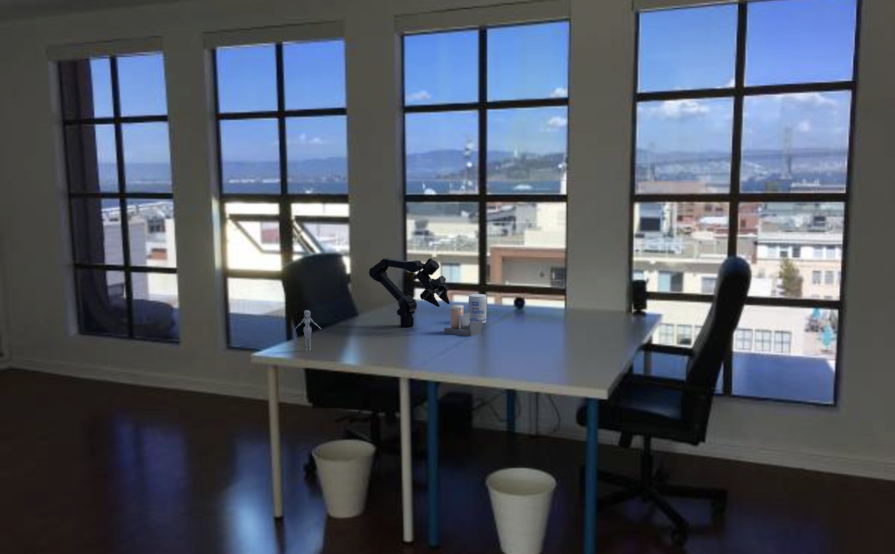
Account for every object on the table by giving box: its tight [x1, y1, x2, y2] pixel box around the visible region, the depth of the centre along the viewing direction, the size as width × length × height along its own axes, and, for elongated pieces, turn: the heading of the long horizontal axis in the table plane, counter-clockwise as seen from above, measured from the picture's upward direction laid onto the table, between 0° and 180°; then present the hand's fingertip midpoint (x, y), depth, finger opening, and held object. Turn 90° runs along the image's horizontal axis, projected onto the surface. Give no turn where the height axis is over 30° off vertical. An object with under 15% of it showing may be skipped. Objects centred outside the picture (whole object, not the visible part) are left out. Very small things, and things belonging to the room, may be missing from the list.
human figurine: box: [293, 309, 322, 352], centre depth 315 cm, size 12×4×18 cm, turn 97°
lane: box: [443, 320, 483, 337], centre depth 347 cm, size 15×11×6 cm
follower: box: [459, 312, 470, 330], centre depth 346 cm, size 1×8×9 cm, turn 146°
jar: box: [449, 304, 465, 329], centre depth 348 cm, size 7×7×13 cm
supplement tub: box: [467, 293, 488, 324], centre depth 373 cm, size 10×10×15 cm
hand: (444, 305), depth 352 cm, fingers open, 9 cm apart
